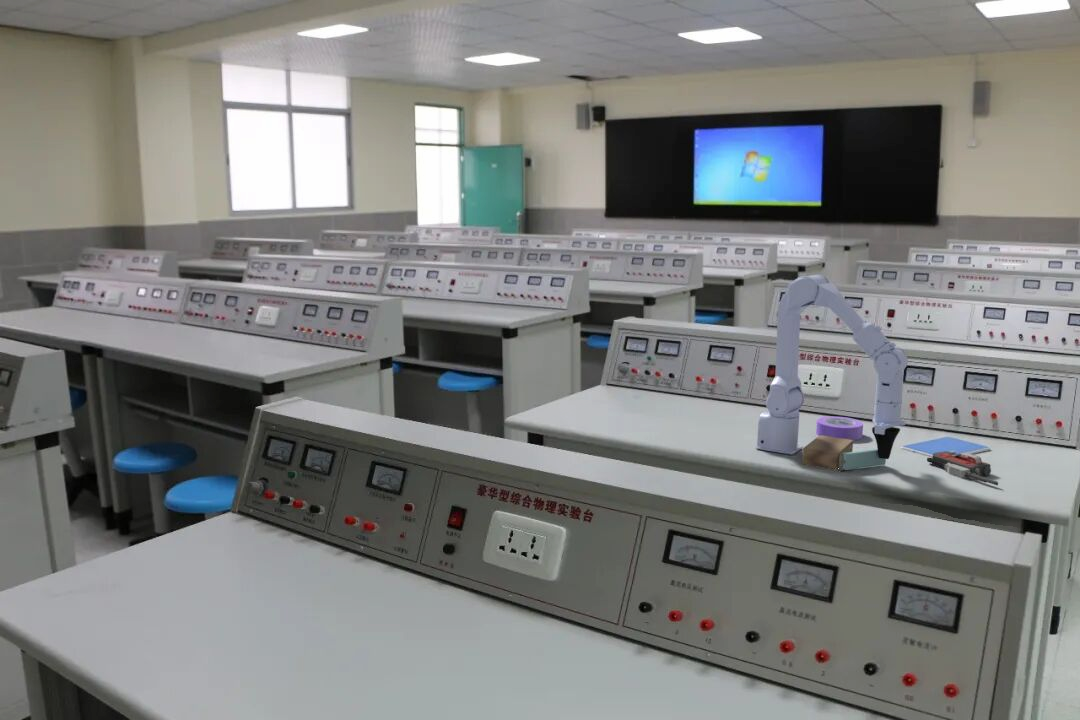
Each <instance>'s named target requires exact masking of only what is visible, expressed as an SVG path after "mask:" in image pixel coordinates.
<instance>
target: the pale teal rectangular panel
mask: <svg viewBox="0 0 1080 720" xmlns="http://www.w3.org/2000/svg"><path fill="white" fill-rule="evenodd" d="M886 461H887V459H883V458H879V456H878V448H872V449H871V448H870V449H865V450H857V451H852V452H848V453H843V465H842V471H843V470H844V471H849V470H857V469H863V468H871V467H877V466H885V465H886Z"/></svg>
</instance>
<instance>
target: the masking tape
mask: <svg viewBox="0 0 1080 720" xmlns="http://www.w3.org/2000/svg"><path fill="white" fill-rule="evenodd" d="M863 429H864V423H863V422H862V421H861V420H859V419H855V418H851V417H844V416H822V417H819V418H817V419H816V427H815V431H816V432H815V433H816V435H817V436H820V435H822V436H829V437H836V438H842V439H849V440H853V441H857V439H858V440H861V439H862V438H863V434H864V433H863V431H864V430H863ZM860 438H861V439H860Z"/></svg>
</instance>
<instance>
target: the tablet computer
mask: <svg viewBox="0 0 1080 720" xmlns="http://www.w3.org/2000/svg"><path fill="white" fill-rule="evenodd" d="M900 449H901V450H904V451H907V452H911V453H915V454H919V455H921V456H925V457H927V458H933V454H934V453H938V452H944V451H948V452H951V451H956V452H955V453H956V454H960V453H969V454H972V455H975V454H979V453H983V452H986V451H987V452H988V451H990V450H991V447H990V446H987V445H983V444H979V443H975V442H970V441H968V440H967V441H966V440H963V439H959V438H955V437H952V436H944V437H939V438H935V439H929V440H926V441H921V442H915V443H911V444H906V445H905V444H904V445H902V446H900ZM962 456H963V455H962Z"/></svg>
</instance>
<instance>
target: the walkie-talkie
mask: <svg viewBox="0 0 1080 720" xmlns="http://www.w3.org/2000/svg"><path fill="white" fill-rule="evenodd" d="M955 452H956V451H951V452H948V451H944V452H938V453H934V454H933V458H932V457H927V458H926V462H928V463H930V464H931V466H934V467H937V468H940V469H943V470H945V471H946V472H947V473H948V475H952V476H955V477H958V478H960V479H968V478H969V479H973V480H977V481H980V482H982V483H989V484H992V485H995V486H998V485H999V482H998V481H997V480H993V479H990V478H987V477H988V476H990V475H991V472H992V468H991V464H990V463H987V462H984V461H982V458H981V457H980V456H978V455H975V454H969V453H960V454H956V453H955ZM962 455H963V456H962ZM989 474H990V475H989ZM985 475H986V476H987V477H986V476H985ZM984 476H985V477H984Z"/></svg>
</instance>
